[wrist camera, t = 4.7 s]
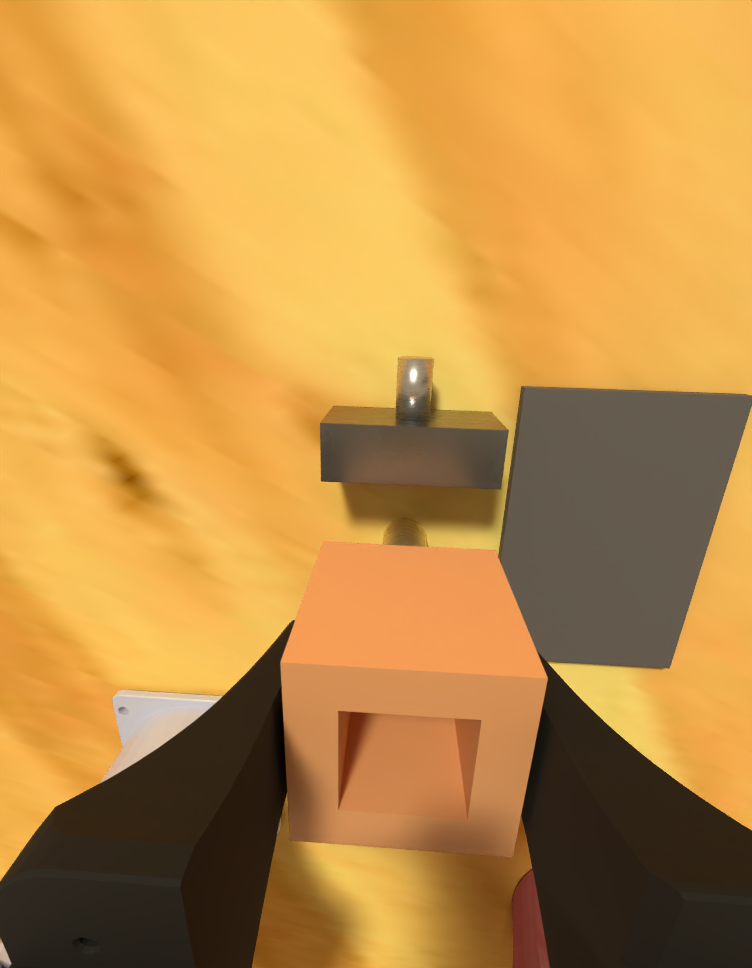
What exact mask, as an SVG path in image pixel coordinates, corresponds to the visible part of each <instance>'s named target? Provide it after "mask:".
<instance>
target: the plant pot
mask: <svg viewBox="0 0 752 968" xmlns="http://www.w3.org/2000/svg"><path fill="white" fill-rule="evenodd" d="M512 913H513V968H550V966H549V960H548V954H547V948H546V941H545V935H544V929H543V924H542V918H541V912H540V907H539V901H538V895H537V890H536V884H535V879H534V873H533V870H531V871H530V872H529V873H528V874H526V875H525V876H524V877H523V879H522V880H521V881H520V882H519V884H518V886H517V887H516V889H515V892H514V895H513V901H512Z"/></svg>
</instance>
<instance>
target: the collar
mask: <svg viewBox="0 0 752 968" xmlns="http://www.w3.org/2000/svg"><path fill="white" fill-rule="evenodd" d="M280 665H281V683H282V702H283V721H284V740H285V759H286V777H287V796H288V815H289V834H290V840H291V841H304V842H317V843H330V844H343V845H356V846H369V847H382V848H396V849H409V850H422V851H435V852H448V853H461V854H474V855H488V856H501V857H513V853H514V848H515V843H516V838H517V833H518V828H519V823H520V818H521V813H522V808H523V803H524V798H525V793H526V787H527V782H528V777H529V772H530V767H531V762H532V757H533V752H534V747H535V742H536V737H537V732H538V727H539V721H540V716H541V711H542V706H543V701H544V696H545V691H546V686H547V681H548V677H547V675H546V673H545V670H544V668H543V665H542V663H541V660H540V658H539V655H538V653H537V651H536V648H535V646H534V643H533V641H532V638H531V636H530V634H529V631H528V629H527V626H526V624H525V621H524V619H523V616H522V614H521V612H520V609H519V607H518V604H517V602H516V599H515V597H514V595H513V592H512V590H511V587H510V585H509V582H508V580H507V577H506V575H505V573H504V570H503V568H502V565H501V563H500V560H499V558H498V556H497V553H496V551H495V550H480V549H459V548H439V547H419V546H399V545H379V544H359V543H339V542H323V543H322V546H321V549H320V552H319V555H318V557H317V560H316V563H315V566H314V569H313V572H312V574H311V577H310V580H309V583H308V586H307V589H306V591H305V594H304V597H303V600H302V603H301V605H300V608H299V611H298V614H297V617H296V620H295V622H294V625H293V628H292V631H291V634H290V637H289V639H288V642H287V645H286V648H285V651H284V653H283V656H282V659H281V662H280Z"/></svg>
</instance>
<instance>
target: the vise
mask: <svg viewBox="0 0 752 968" xmlns="http://www.w3.org/2000/svg"><path fill="white" fill-rule="evenodd" d="M433 365H434V358H429V357H414V356H404V357H398V369H397V393H396V408H372V407H345V406H333V407H332V409H331V410H330V411H329V412H328V414H327V415H326V416H325V418H324V419H323V420H322V421H321V423H320V439H321V481H324V482H346V483H368V484H391V485H413V486H436V487H458V488H481V489H501V485H502V477H503V470H504V462H505V454H506V447H507V439H508V431H509V430H508V429H507V428H506V427H505V426H504V425H503V424H502V423H501V422H500V421H499V420H498V419H497V418H496V417H495V416H494V414H493V413H492V412H478V411H451V410H430V408H431V393H432V379H433ZM383 545H399V546H419V547H427V542H426V534H425V531H424V529H423V528H422V527H421V526H420V525H419V524H418V523H417V522H415V521H412V520H409V519H400V520H397V521H394V522H392V523H391V524H390V525H389V526H388V527H387V528H386V530H385V532H384V536H383Z"/></svg>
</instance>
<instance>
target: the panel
mask: <svg viewBox="0 0 752 968" xmlns="http://www.w3.org/2000/svg"><path fill="white" fill-rule="evenodd" d="M751 406H752V396H751V395H746V394H728V393H700V392H671V391H643V390H615V389H587V388H558V387H530V386H521V394H520V401H519V408H518V416H517V423H516V430H515V438H514V445H513V452H512V460H511V467H510V474H509V482H508V489H507V497H506V504H505V511H504V519H503V526H502V533H501V541H500V548H499V555H498V558H499V560H500V563H501V565H502V568H503V570H504V573H505V575H506V577H507V580H508V582H509V585H510V587H511V590H512V592H513V595H514V597H515V599H516V602H517V604H518V607H519V609H520V612H521V614H522V616H523V619H524V621H525V624H526V626H527V629H528V631H529V634H530V636H531V638H532V641H533V643H534V646H535V648H536V650H537V651H538V652H539V653H540V654H541V656H542V657H543V658H544V659H545V660H546V661H552V662H569V663H586V664H603V665H619V666H636V667H653V668H670V665H671V662H672V659H673V656H674V653H675V649H676V646H677V643H678V640H679V637H680V633H681V630H682V627H683V624H684V621H685V617H686V614H687V611H688V608H689V605H690V601H691V598H692V595H693V592H694V589H695V585H696V582H697V579H698V576H699V573H700V569H701V566H702V563H703V560H704V557H705V553H706V550H707V547H708V544H709V541H710V537H711V534H712V531H713V528H714V525H715V521H716V518H717V515H718V512H719V509H720V505H721V502H722V499H723V496H724V493H725V489H726V486H727V483H728V480H729V477H730V473H731V470H732V467H733V464H734V461H735V457H736V454H737V451H738V448H739V445H740V441H741V438H742V435H743V432H744V429H745V425H746V422H747V419H748V416H749V413H750V409H751Z"/></svg>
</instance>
